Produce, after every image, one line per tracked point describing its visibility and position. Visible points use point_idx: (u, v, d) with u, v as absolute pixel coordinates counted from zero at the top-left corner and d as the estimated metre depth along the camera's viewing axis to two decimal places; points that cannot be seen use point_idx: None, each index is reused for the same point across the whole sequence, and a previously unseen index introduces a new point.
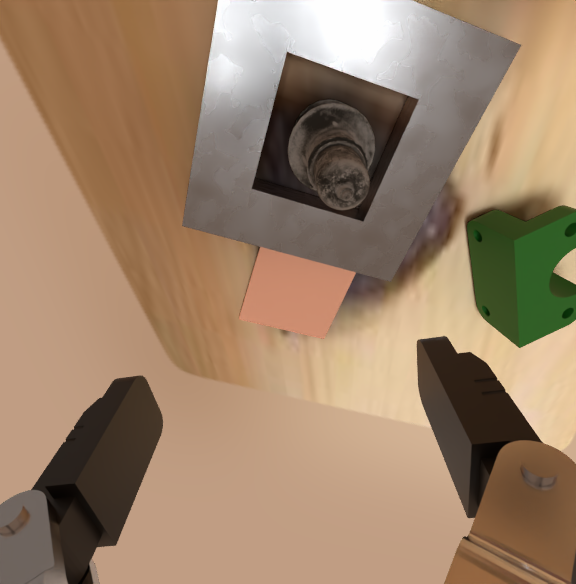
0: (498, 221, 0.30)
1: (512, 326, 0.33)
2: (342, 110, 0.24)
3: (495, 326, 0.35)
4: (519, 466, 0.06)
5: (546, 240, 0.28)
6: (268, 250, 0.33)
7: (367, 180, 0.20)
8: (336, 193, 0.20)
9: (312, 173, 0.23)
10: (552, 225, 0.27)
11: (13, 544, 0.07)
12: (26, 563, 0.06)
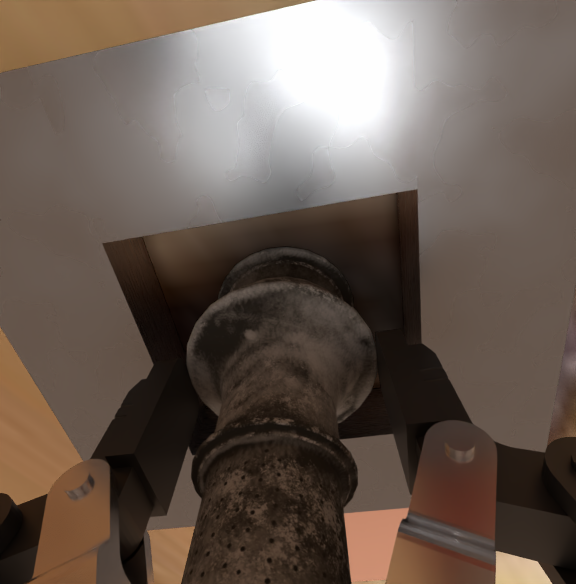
0: None
1: None
2: (254, 298, 0.10)
3: None
4: (442, 442, 0.07)
5: None
6: None
7: None
8: None
9: None
10: None
11: (78, 510, 0.07)
12: (100, 521, 0.07)
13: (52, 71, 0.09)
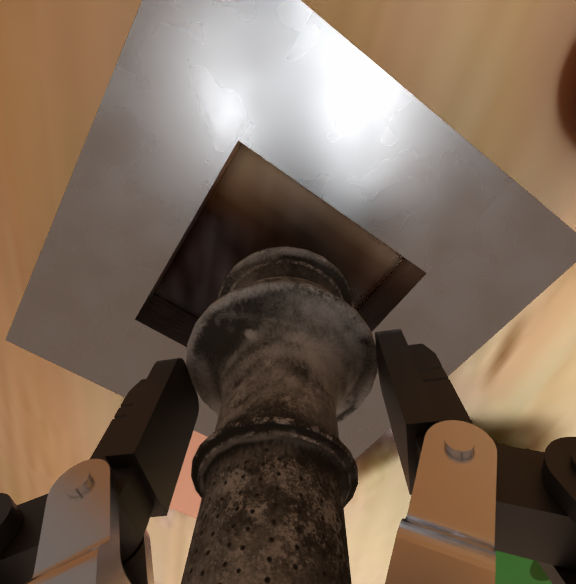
0: None
1: None
2: (254, 298, 0.10)
3: None
4: (442, 442, 0.07)
5: None
6: None
7: None
8: None
9: None
10: None
11: (77, 510, 0.07)
12: (100, 521, 0.07)
13: (323, 29, 0.12)
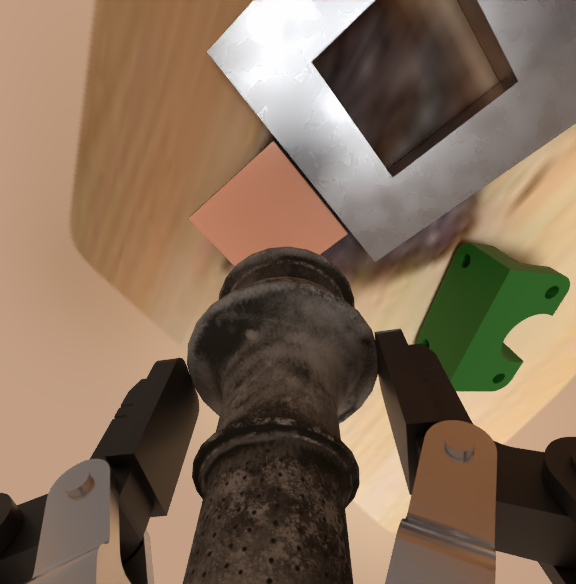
0: (494, 253, 0.28)
1: (450, 365, 0.30)
2: (255, 298, 0.10)
3: None
4: (442, 442, 0.07)
5: (530, 289, 0.27)
6: (273, 156, 0.28)
7: None
8: None
9: None
10: (543, 276, 0.27)
11: (77, 509, 0.07)
12: (101, 521, 0.07)
13: None
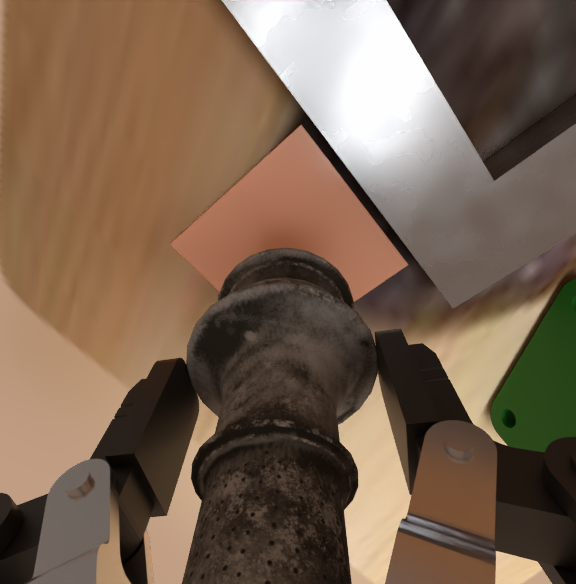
0: None
1: None
2: (254, 300, 0.10)
3: (513, 446, 0.23)
4: (442, 442, 0.07)
5: None
6: (300, 148, 0.18)
7: None
8: None
9: None
10: None
11: (78, 509, 0.07)
12: (101, 521, 0.07)
13: None
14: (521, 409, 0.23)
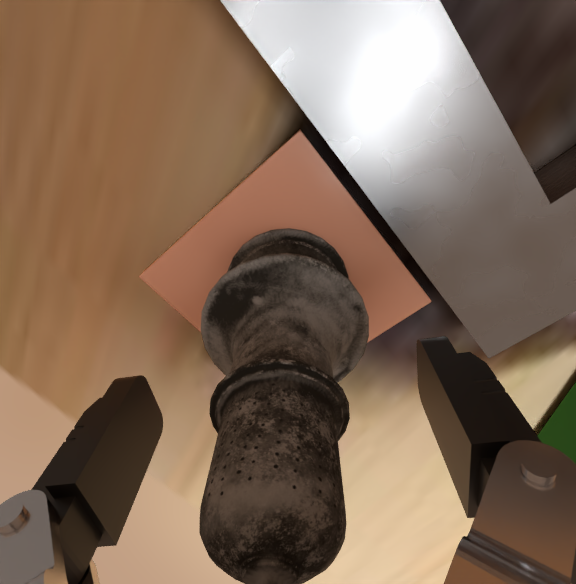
0: None
1: None
2: (260, 269, 0.12)
3: None
4: (519, 466, 0.06)
5: None
6: (299, 160, 0.14)
7: (320, 518, 0.07)
8: None
9: None
10: None
11: (13, 544, 0.07)
12: (26, 563, 0.06)
13: None
14: None
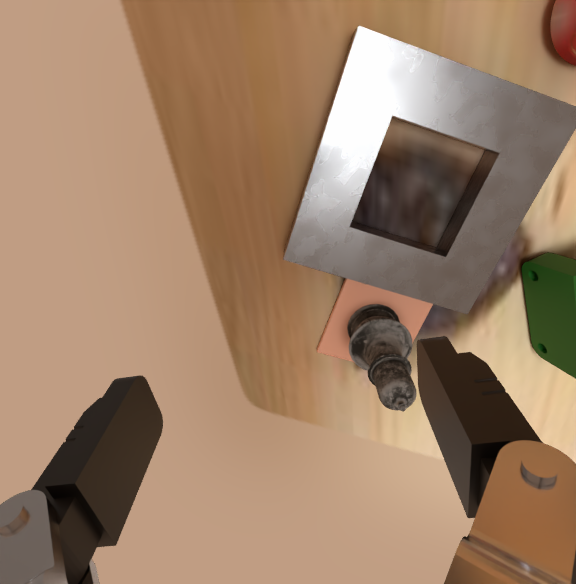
0: (553, 261, 0.33)
1: (573, 360, 0.34)
2: (361, 331, 0.35)
3: (553, 363, 0.37)
4: (519, 466, 0.06)
5: None
6: (352, 285, 0.37)
7: (404, 385, 0.29)
8: (398, 406, 0.29)
9: None
10: None
11: (13, 544, 0.07)
12: (26, 563, 0.06)
13: (424, 53, 0.27)
14: (544, 340, 0.37)
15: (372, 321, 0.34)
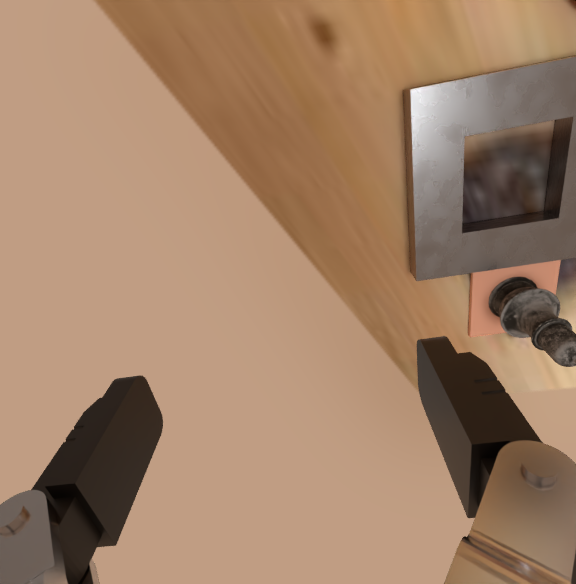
0: None
1: None
2: (507, 309, 0.39)
3: None
4: (519, 466, 0.06)
5: None
6: (480, 273, 0.41)
7: (574, 344, 0.33)
8: None
9: None
10: None
11: (13, 544, 0.07)
12: (26, 563, 0.06)
13: (472, 79, 0.31)
14: None
15: (514, 297, 0.39)
